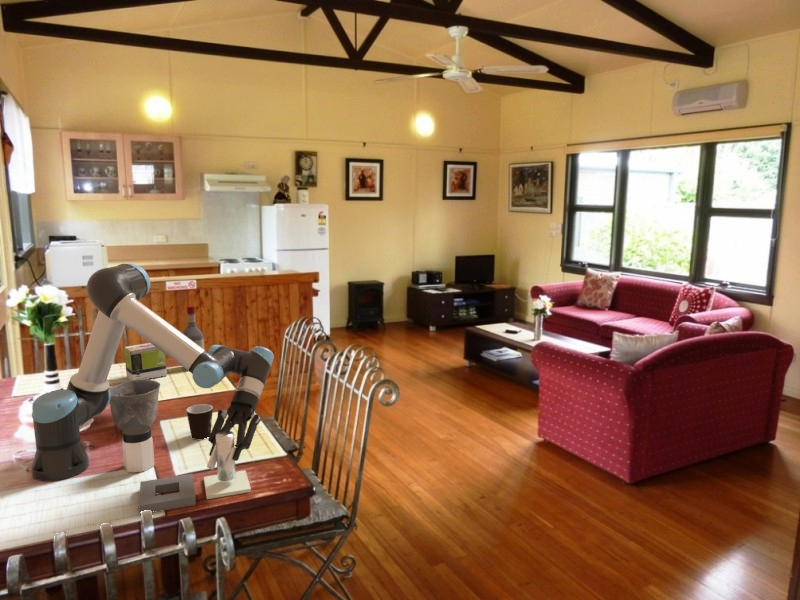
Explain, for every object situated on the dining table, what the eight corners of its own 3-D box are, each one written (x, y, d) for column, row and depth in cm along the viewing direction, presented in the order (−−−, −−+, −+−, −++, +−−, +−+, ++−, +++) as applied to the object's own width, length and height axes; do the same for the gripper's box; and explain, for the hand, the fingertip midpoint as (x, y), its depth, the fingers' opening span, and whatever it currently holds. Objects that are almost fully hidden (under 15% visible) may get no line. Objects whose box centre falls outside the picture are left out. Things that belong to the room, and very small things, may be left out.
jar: (158, 460, 187) (155, 424, 185) (150, 472, 179) (147, 434, 177) (128, 461, 186) (126, 425, 184) (119, 473, 178) (116, 435, 176)
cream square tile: (206, 499, 164) (206, 496, 163) (203, 479, 175) (203, 476, 174) (251, 491, 168) (250, 488, 168) (245, 473, 179) (245, 470, 179)
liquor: (206, 368, 284) (202, 307, 278) (186, 371, 279) (182, 309, 274) (201, 363, 291) (198, 304, 286) (182, 366, 287) (179, 305, 282)
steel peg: (218, 482, 168) (216, 439, 165) (217, 474, 172) (214, 432, 170) (236, 479, 169) (234, 436, 167) (234, 471, 174) (232, 430, 172)
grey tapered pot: (108, 422, 217) (105, 383, 214) (160, 414, 225) (157, 377, 222) (110, 440, 201) (106, 398, 199) (165, 431, 209) (162, 391, 207)
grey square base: (139, 514, 156) (138, 505, 155) (141, 489, 168) (140, 481, 168) (195, 504, 161) (195, 496, 160) (193, 481, 173) (192, 473, 173)
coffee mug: (206, 442, 201) (204, 414, 199) (183, 439, 203) (181, 412, 201) (222, 429, 212) (221, 402, 210) (200, 426, 214) (199, 400, 212)
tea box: (159, 371, 279) (157, 340, 276) (167, 376, 271) (165, 345, 269) (125, 377, 269) (123, 345, 267) (132, 382, 262) (130, 350, 259)
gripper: (278, 403, 180) (252, 478, 167) (226, 397, 185) (197, 469, 172) (269, 392, 174) (241, 469, 161) (215, 386, 179) (184, 460, 166)
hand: (218, 469), depth 167 cm, fingers closed on steel peg, 5 cm apart
